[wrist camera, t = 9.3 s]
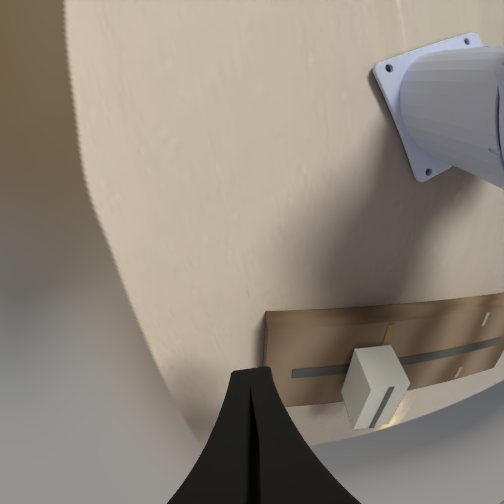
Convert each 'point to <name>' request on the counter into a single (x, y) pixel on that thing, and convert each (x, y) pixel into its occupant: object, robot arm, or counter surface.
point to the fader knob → (373, 386)
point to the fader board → (381, 343)
